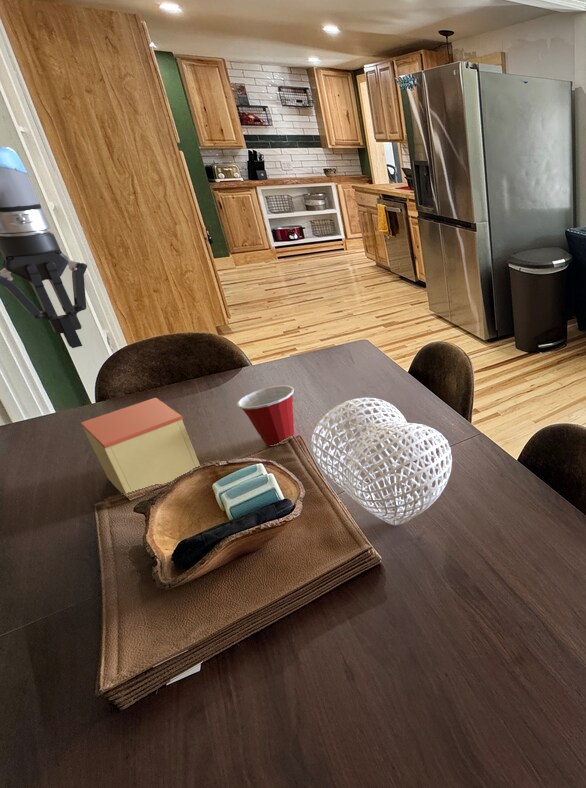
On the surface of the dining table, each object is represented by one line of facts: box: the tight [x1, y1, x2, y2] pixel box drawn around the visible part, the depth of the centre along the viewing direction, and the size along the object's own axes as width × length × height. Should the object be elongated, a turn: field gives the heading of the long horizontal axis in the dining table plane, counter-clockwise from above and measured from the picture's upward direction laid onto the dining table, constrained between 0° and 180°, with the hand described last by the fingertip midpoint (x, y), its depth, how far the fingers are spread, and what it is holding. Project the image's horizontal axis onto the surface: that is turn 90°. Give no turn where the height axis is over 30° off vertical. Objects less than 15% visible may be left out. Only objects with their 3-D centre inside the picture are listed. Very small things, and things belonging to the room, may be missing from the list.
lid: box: [80, 397, 184, 448], centre depth 93 cm, size 14×12×1 cm
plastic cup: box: [236, 384, 295, 447], centre depth 108 cm, size 11×11×12 cm
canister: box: [81, 419, 201, 494], centre depth 96 cm, size 13×12×13 cm
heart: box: [310, 397, 453, 526], centre depth 83 cm, size 28×16×22 cm, turn 53°
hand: (75, 345), depth 99 cm, fingers closed
